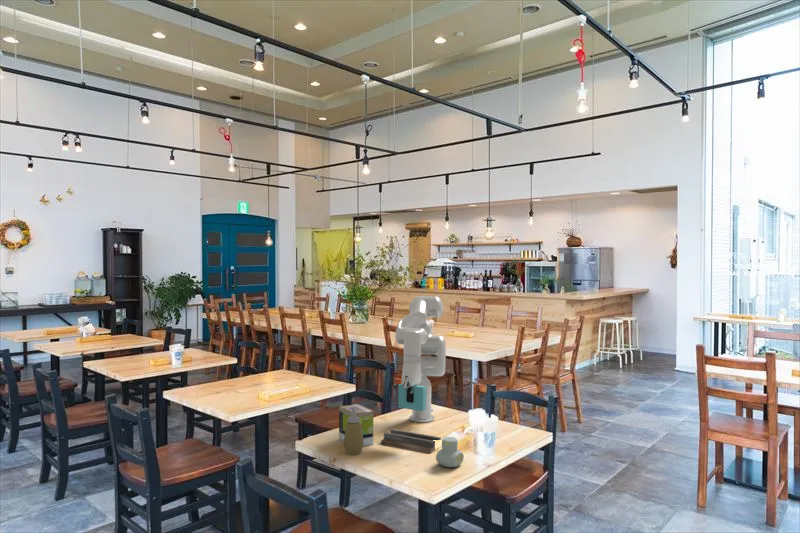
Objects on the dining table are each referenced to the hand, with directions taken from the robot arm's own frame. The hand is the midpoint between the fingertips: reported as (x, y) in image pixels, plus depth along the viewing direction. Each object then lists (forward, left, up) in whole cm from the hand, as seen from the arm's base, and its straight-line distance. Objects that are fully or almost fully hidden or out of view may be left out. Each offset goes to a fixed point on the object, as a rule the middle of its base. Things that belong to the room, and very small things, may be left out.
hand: (412, 401), depth 227 cm
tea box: (+9, -23, -19) cm, 31 cm away
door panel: (0, 0, -3) cm, 3 cm away
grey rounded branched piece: (+14, +24, -19) cm, 34 cm away
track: (0, 0, -19) cm, 19 cm away
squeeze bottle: (+21, -16, -19) cm, 32 cm away
